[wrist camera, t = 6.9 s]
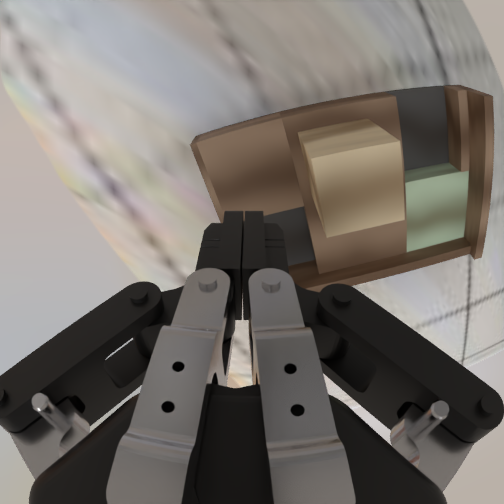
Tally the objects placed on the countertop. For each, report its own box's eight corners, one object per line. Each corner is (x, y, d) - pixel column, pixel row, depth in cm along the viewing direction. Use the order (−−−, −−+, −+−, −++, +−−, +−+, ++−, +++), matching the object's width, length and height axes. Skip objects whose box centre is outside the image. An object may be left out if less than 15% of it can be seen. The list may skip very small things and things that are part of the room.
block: (297, 132, 22) (310, 158, 17) (367, 118, 21) (400, 141, 16) (312, 196, 25) (326, 237, 20) (376, 182, 24) (404, 219, 19)
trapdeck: (195, 136, 24) (183, 155, 20) (459, 84, 20) (492, 96, 16) (251, 280, 33) (250, 315, 29) (459, 230, 29) (481, 257, 25)
